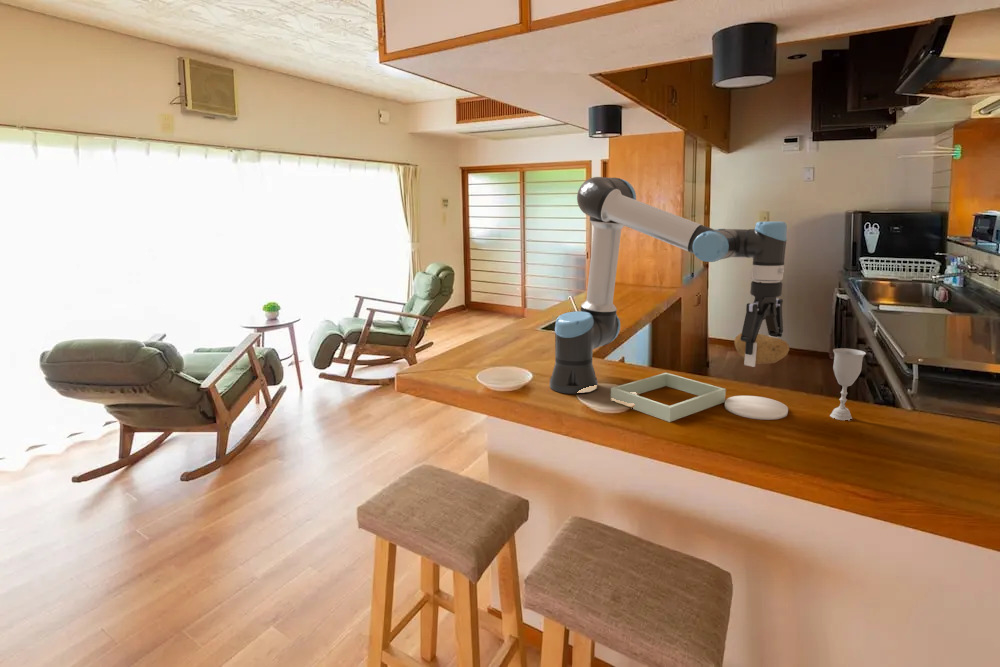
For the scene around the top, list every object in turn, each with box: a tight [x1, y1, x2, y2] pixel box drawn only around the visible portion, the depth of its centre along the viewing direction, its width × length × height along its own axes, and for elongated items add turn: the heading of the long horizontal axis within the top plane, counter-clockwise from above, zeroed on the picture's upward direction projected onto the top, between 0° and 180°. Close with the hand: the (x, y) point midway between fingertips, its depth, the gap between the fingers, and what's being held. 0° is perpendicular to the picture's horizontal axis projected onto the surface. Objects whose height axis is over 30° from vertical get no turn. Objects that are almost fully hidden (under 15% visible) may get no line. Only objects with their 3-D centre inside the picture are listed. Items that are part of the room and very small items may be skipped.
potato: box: [733, 332, 790, 365], centre depth 149 cm, size 10×14×8 cm
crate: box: [610, 372, 727, 423], centre depth 160 cm, size 21×25×4 cm
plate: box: [724, 395, 789, 421], centre depth 153 cm, size 16×16×1 cm
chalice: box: [829, 347, 867, 421], centre depth 144 cm, size 7×7×18 cm
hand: (760, 362), depth 150 cm, fingers closed on potato, 9 cm apart
